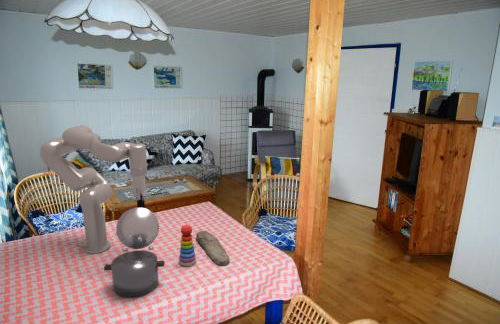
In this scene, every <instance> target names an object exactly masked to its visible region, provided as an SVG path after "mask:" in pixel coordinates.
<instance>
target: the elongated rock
mask: <svg viewBox="0 0 500 324" xmlns="http://www.w3.org/2000/svg"><path fill="white" fill-rule="evenodd" d="M195 237H196V240H197V241H198V243H199V246H201V247H202V248H203V250H205V253H206V254H207V255H208V256H209V258H210V259H211V260H212V261H213V262H214V264H217V265H218V266H220V267H225V266H228V265H229V264H230V256H229V255H228V253H227V251H226V249H225V248H224V247H223V245H222V244H221V243H220V241H219V239H218V238H216V236H215V235H214V234H212V232H209V231H207V230H199V231H198V232H196V233H195Z"/></svg>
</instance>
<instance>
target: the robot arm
mask: <svg viewBox="0 0 500 324" xmlns="http://www.w3.org/2000/svg"><path fill="white" fill-rule="evenodd" d="M79 149H80V150H83V151H84V150H85V151H87V152H91V154H92V155H93V156H94V157H96V158H98V160H102V161H105V162H109V163H118V162H120V161H124V160H126V159H128V163H129V164H128V165H129V174H130V176H131V177H132V178H131V185H132V186H131V187H132V191H131V192H132V193H131V194H132V197H133V198H135V197H136V208H137V207H141V208H146V206H145V205H146V204H145V201H146V200H145V194H146V189H147V188H146V187H147V186H146V183H147V182H146V175H147V174H148V166H147V165H148V164H147V163H148V162H147V147H146V145H145V144H144V143H132V142H129V141H122V142H119V143H115V144H112V145H111V144H106V143H102V138H101V136H100V135H99V134H98V133H94V132H93V131H92V130H91V128H90V127H89V126H87V125H77V126H71V127H69V128H66V129H65V130H64V131H63V132H62V135H61V137H58V138H53V139H49V140H47V141H45V142H44V143H42V144H41V146H40V148H39V155H40V159H41V161H42V163H44V165H46V167H47V168H48V169H50V170H51V171H52V172H54V174H55V175H57V177H59V179H60V180H61V181H62V182H63V183H64V184H66V186H67V187H68V188H69V189H70V190H71V191H74V192H79V191H82V192H81V193H80V195H79V196H78V197H79V198H78V202H79V205H80V207H81V211H82V216H83V217H82V218H83V223H84V233H85V239H83V240H80V239H79V240H77V245H78V246H79V247H83V251H84V252H85V253H86V254H91V255H92V254H94V255H95V254H101V253H103V252H106V251H108V250H109V249H110V248H111V246H112V244H111V242H110V241H109V240H108V236H107V227H106V226H107V225H106V216H105V211H104V209H103V208H102V204H103V203H106V202H107V201H108V200H110V199H111V198H112V197H113V195H114V190H113V188H112V186H111V185H110V184H109V182H108V181H106V179H105V178H104V177H103V175H101V174H100V172H98V171H97V170H96V169H94V168H92V167H89V166H87V167H82V168H80V169H79V168H77V167H76V166H75V165H74V164H73V163H72V162H71V161H70V160H68V159H66V158H64V157H63V156H65V155H69V154H72V153H73V152H75V151H77V150H79Z"/></svg>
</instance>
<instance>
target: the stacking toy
mask: <svg viewBox="0 0 500 324" xmlns="http://www.w3.org/2000/svg"><path fill="white" fill-rule="evenodd" d="M180 232H181V234H182V235H181V236H180V249H179V251H180V252H179V255H178V256H179V257H178V263H179V265H180V266H183V267H191V266H193V265H195V264H196V262H197V259H196V251H195V247H194V240H193V234H192V232H193V228H192V226H191V225H190V224H185V225H183V226H181V228H180Z"/></svg>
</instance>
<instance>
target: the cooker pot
mask: <svg viewBox="0 0 500 324" xmlns="http://www.w3.org/2000/svg"><path fill="white" fill-rule="evenodd" d="M128 248H129V247H127V248H121V249H122V252H124V253H122V254H121V253H120V254H119V255H118V256H116V257H115V258H114V259H113V260H112V261H111V263H109V264H108V263H107V264H104V268H103V270H104V272H105V271H106V272H107V271H111V277H112V286H113V287H112V289H113V292H114V294H115V295H116V296H119V297H120V298H124V299H135V298H140V297H141V298H142V297H144V296H146V295H149V294H150V293H152V292H154V291H155V290H156V288H157V287H158V286H159V282H160V281H159V268H161V267H162V268H163V267H164V268H165V260H158V256H157V255H156V254H155V253H153V252H152V250H153V251H154V246H149V247H148V250H149V251H148V250H142V249H137V250H132V251H129V250H128Z"/></svg>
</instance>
